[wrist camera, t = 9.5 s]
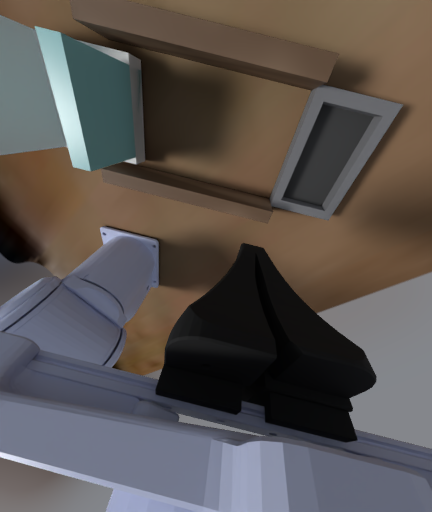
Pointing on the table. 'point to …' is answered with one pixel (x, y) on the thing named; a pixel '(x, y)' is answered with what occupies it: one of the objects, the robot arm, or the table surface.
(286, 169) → the tray
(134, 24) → the channel
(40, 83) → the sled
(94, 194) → the table surface
